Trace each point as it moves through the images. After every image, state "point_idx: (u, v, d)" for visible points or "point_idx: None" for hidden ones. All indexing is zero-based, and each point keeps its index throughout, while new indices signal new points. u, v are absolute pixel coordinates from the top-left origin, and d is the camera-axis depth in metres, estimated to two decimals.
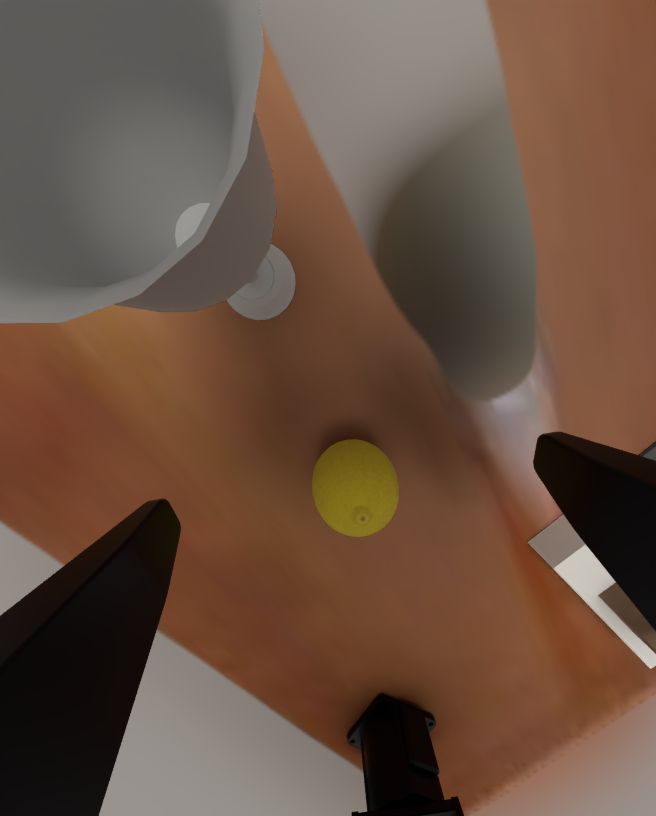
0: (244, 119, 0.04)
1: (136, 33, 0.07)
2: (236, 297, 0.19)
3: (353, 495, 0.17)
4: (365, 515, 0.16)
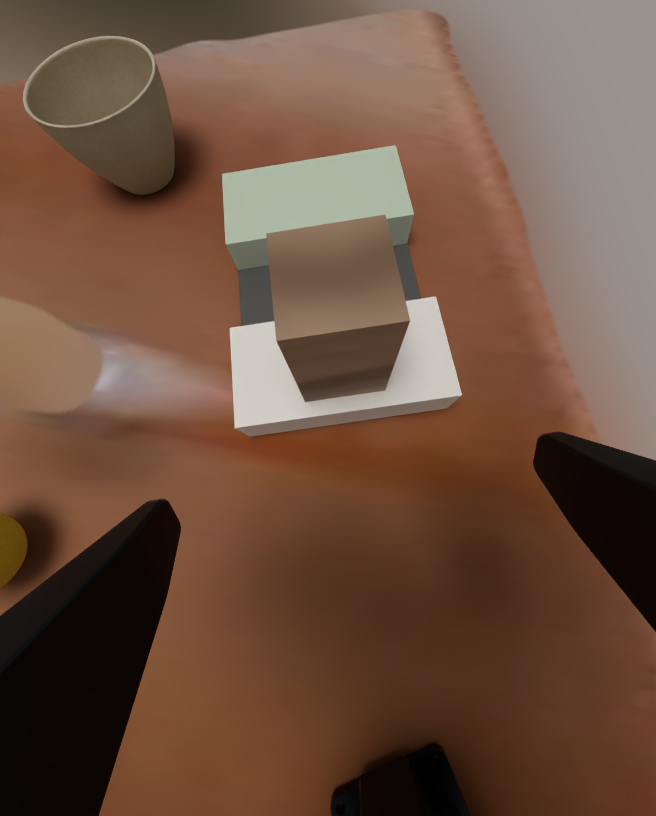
0: None
1: None
2: None
3: None
4: None
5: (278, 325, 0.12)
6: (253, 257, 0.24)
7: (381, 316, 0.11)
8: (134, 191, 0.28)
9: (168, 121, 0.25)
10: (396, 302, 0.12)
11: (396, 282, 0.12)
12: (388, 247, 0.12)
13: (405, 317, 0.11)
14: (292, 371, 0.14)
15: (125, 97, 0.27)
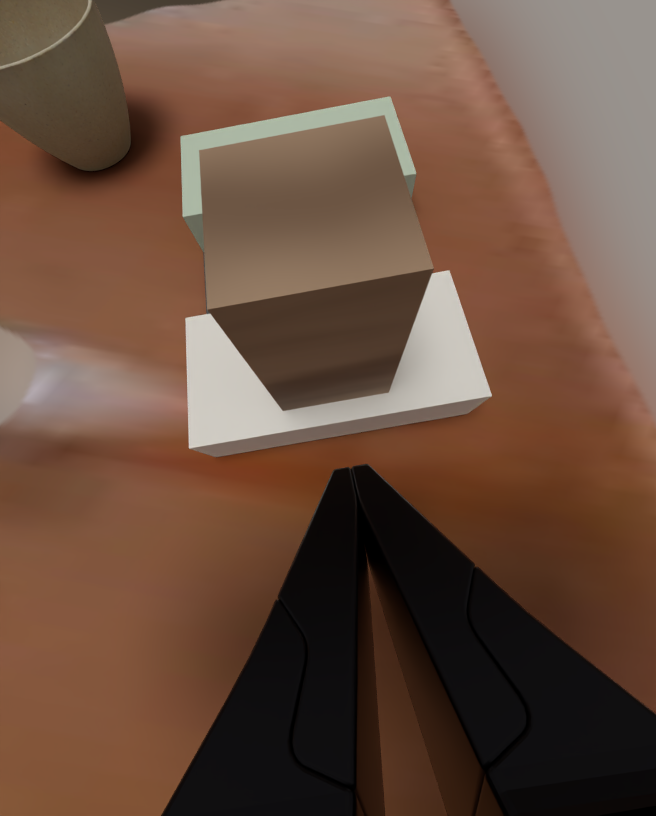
0: None
1: None
2: None
3: None
4: None
5: (211, 284, 0.07)
6: None
7: (384, 263, 0.07)
8: (81, 166, 0.24)
9: (115, 76, 0.21)
10: (409, 241, 0.07)
11: (406, 210, 0.07)
12: (391, 160, 0.08)
13: (425, 263, 0.07)
14: (252, 366, 0.10)
15: None
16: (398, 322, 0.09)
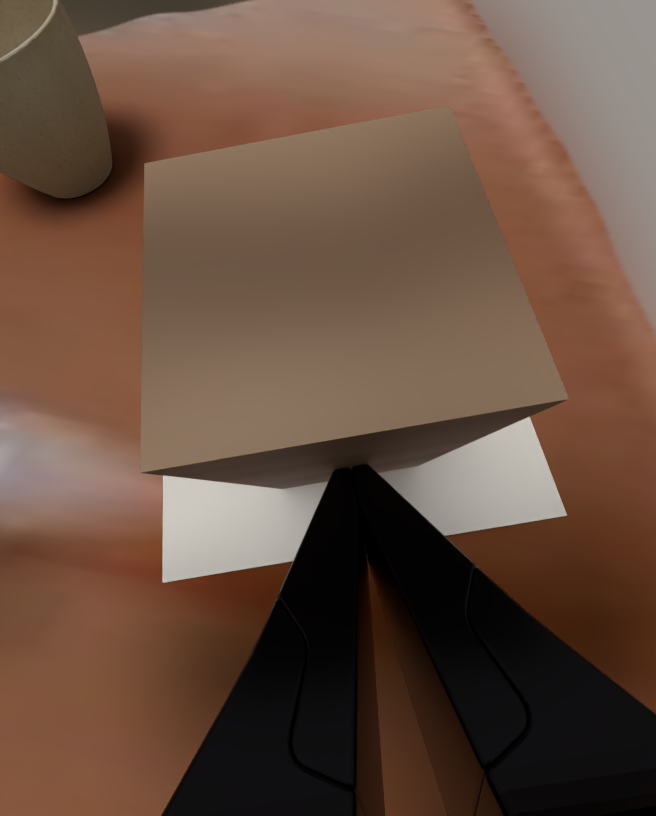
0: None
1: None
2: None
3: None
4: None
5: (151, 417, 0.04)
6: None
7: (471, 385, 0.04)
8: (53, 193, 0.20)
9: (89, 91, 0.18)
10: (515, 338, 0.04)
11: (504, 277, 0.04)
12: (468, 183, 0.04)
13: (550, 387, 0.04)
14: (237, 482, 0.06)
15: None
16: (465, 437, 0.05)
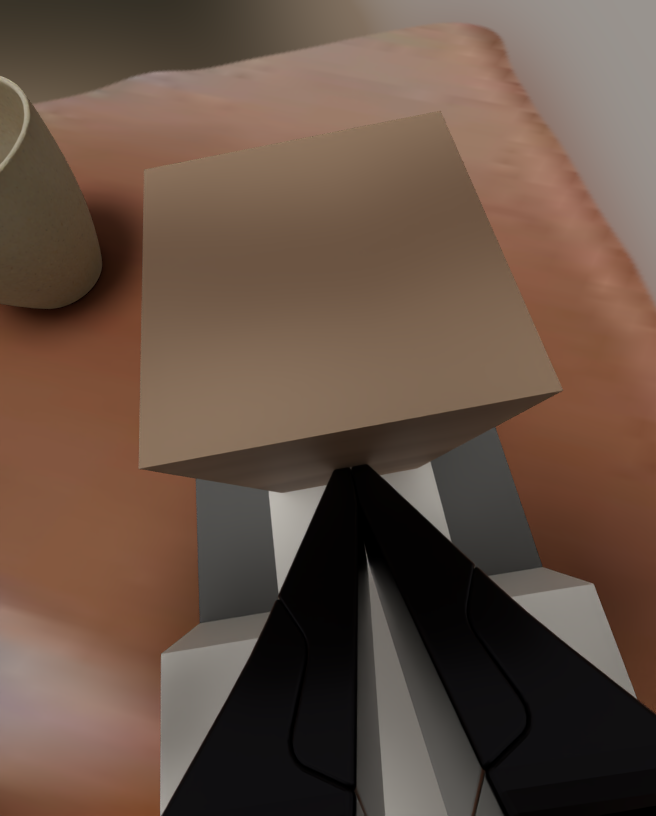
0: None
1: None
2: None
3: None
4: None
5: (149, 414, 0.04)
6: None
7: (466, 378, 0.04)
8: (33, 307, 0.17)
9: (71, 207, 0.15)
10: (508, 332, 0.04)
11: (496, 274, 0.04)
12: (459, 184, 0.05)
13: (544, 379, 0.04)
14: (236, 483, 0.06)
15: None
16: (463, 434, 0.05)
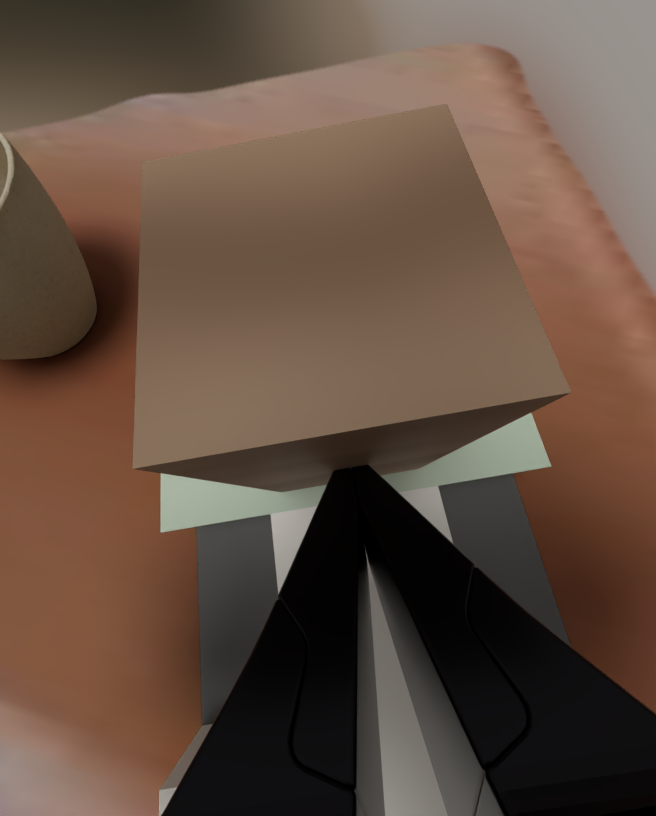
0: None
1: None
2: None
3: None
4: None
5: (144, 413, 0.04)
6: None
7: (472, 379, 0.04)
8: None
9: (62, 260, 0.14)
10: (514, 331, 0.04)
11: (503, 270, 0.04)
12: (465, 179, 0.04)
13: (552, 380, 0.04)
14: (234, 483, 0.06)
15: None
16: (466, 436, 0.05)
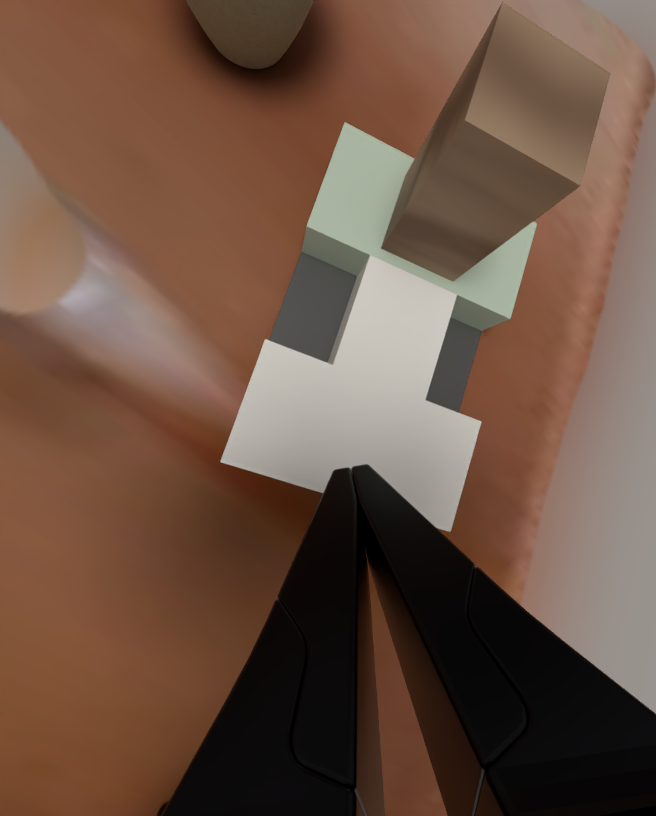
0: None
1: None
2: None
3: None
4: None
5: (473, 106, 0.11)
6: (327, 253, 0.19)
7: (560, 165, 0.11)
8: (219, 49, 0.19)
9: None
10: (578, 162, 0.11)
11: (587, 143, 0.12)
12: (597, 106, 0.12)
13: (578, 180, 0.11)
14: (423, 186, 0.14)
15: None
16: (526, 215, 0.13)
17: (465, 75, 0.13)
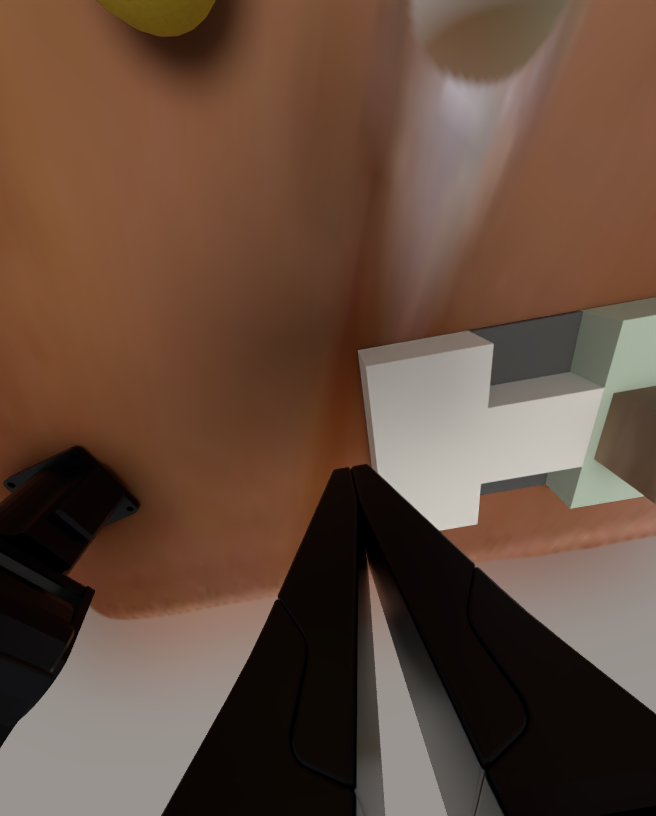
0: None
1: None
2: None
3: None
4: None
5: None
6: (591, 341, 0.19)
7: None
8: None
9: None
10: None
11: None
12: None
13: None
14: None
15: None
16: None
17: None
